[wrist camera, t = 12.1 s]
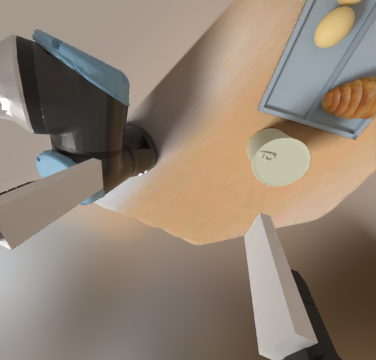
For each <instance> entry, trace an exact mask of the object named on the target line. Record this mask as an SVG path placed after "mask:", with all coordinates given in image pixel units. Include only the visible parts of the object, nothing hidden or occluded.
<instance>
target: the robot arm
mask: <svg viewBox="0 0 376 360" xmlns="http://www.w3.org/2000/svg"><path fill="white" fill-rule="evenodd" d="M32 36H33V39H34V40H35V41H36V42H34V41H31V40H28V39H25V38H22V37H19V36H17V35H13V34H12V35H11V36H9V37H7V38H6V39H4V40H2V41H1V42H0V119H3V120H12V121H14V122H16V123H18V124H19V125H21V126H22V127H24V128H25V129H26V130H28V131H29V132H31V133H34V134H48V135H50V137H51V144H52V150H46V151H44V152H43V153H41V154H40V155H39V156H38V157H37V158H36V166H37V169H38V172H39V174H40V175H41V177H42V179H39V180H36V181H32V182H28V183H25V184H23V185H20V186H17V188H12V189H10V190H8V191H5V192H2V193H0V245H2V246H4V247H6V248H9V249H11V250H12V249H14V248H15V247H17V246H18V245H20V244H21V243H23V242H24V241H26V240H27V239H29V238H30V237H32V236H33V235H35V234H36V233H38V232H39V231H40V230H42V229H43V228H45V227H46V226H48V225H49V224H51V223H52V222H54V221H55V220H57V219H58V218H60V217H61V216H63V215H64V214H66V213H67V212H68V211H70V210H72V209H73V208H74V207H76V206H77V205H87V204H90V203H93V202H94V201H96V200H98V199H100V198H102V197H104V196H105V195H106V194H107V193H108V192H110V191H111V190H112V189H114V188H115V187H117V186H118V185H120V184H121V183H122V182H124V181H125V180H127V179H128V178H129V177H133V176H138V175H143V174H145V173H147V172H148V171H149V170H151V169H152V168H153V166H154V165H155V162H156V159H157V151H156V147H155V144H154V142H153V140H152V138H151V137H150V136H149V135H148V133H147V132H145V131H144V130H143V129H141V128H139V127H137V126H134V125H126V121H127V113H128V106H129V81H128V79H127V77H126V75H124V73H123V72H121V71H120V70H118V69H116V68H114V67H112V66H110V65H108V64H106V63H104V62H102V61H100V60H98V59H96V58H94V57H92V56H90V55H88V54H86V53H84V52H82V51H81V50H79V49H77V48H75V47H73V46H71V45H69V44H67V43H65V42H63V41H61V40H59V39H57V38H55V37H53V36H51V35H49V34H47V33H45V32H43V31H41V30H39V29H37V30H35V31H34V34H33V35H32ZM244 238H245V246H246V254H247V261H248V269H249V277H250V285H251V293H252V300H253V309H254V316H255V324H256V332H257V340H258V348H259V354H260V355H262V356H265V357H267V358H269V359H272V360H281V359H283V358H284V359H285V360H342V359H341V358H340V357H339V356H338V354H337V352H336V350H335V349H334V346H333V344H332V341H331V339H330V337H329V335H328V332H327V330H326V328H325V325H324V323H323V321H322V318H321V316H320V314H319V312H318V309H317V308H316V307H315V303H314V300H313V298H312V297H311V294H310V291H309V289H308V287H307V285H306V282H305V281H304V280H303V278H302V277H301V275H300V274H299V273H298V272H297V271H294V270H291V269H290V267H289V265H288V262H287V260H286V257H285V254H284V252H283V249H282V246H281V244H280V241H279V238H278V236H277V233H276V231H275V228H274V225H273V222H272V220H271V217H270V216H268V215H265V214H262V213H259V214H258V216H257V218H256V219H255V221H254V222H253V224H252V226H251V227H250V229H249V230H248V232H247V234H246V235H245V237H244Z"/></svg>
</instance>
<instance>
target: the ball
mask: <svg viewBox="0 0 376 360" xmlns="http://www.w3.org/2000/svg"><path fill="white" fill-rule="evenodd" d="M354 20H355V14H354V11H353V9H351V8H350V7H347V6H343V7H338V8H336V9H334V10H332V11H331V12H329V13H328V14H327V15H326V16H325V17H324V18H323V19H322V20H321V21H320V23H319V24H318V26H317V28H316V30H315V34H314V42H315V44H316V45H317V46H318V47H320V48H329V47H332V46H334V45H336V44H337V43H339V42H340V41H342V40H343V39H344V38H345V37H346V36H347V34H348V33H349V32H350V30H351V28H352V26H353V24H354Z"/></svg>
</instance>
